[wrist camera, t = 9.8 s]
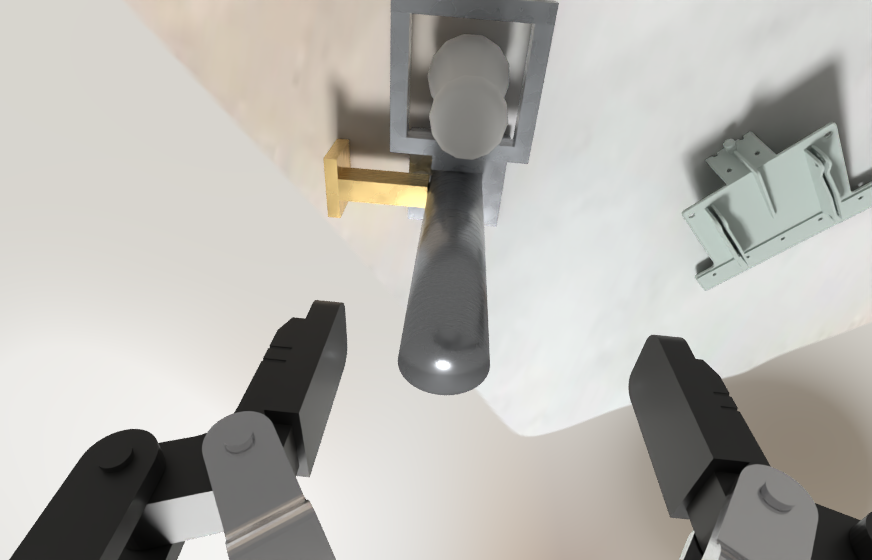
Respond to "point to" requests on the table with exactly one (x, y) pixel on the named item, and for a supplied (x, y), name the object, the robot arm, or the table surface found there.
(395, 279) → the table surface
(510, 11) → the square post stand
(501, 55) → the salt shaker
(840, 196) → the metal bracket
